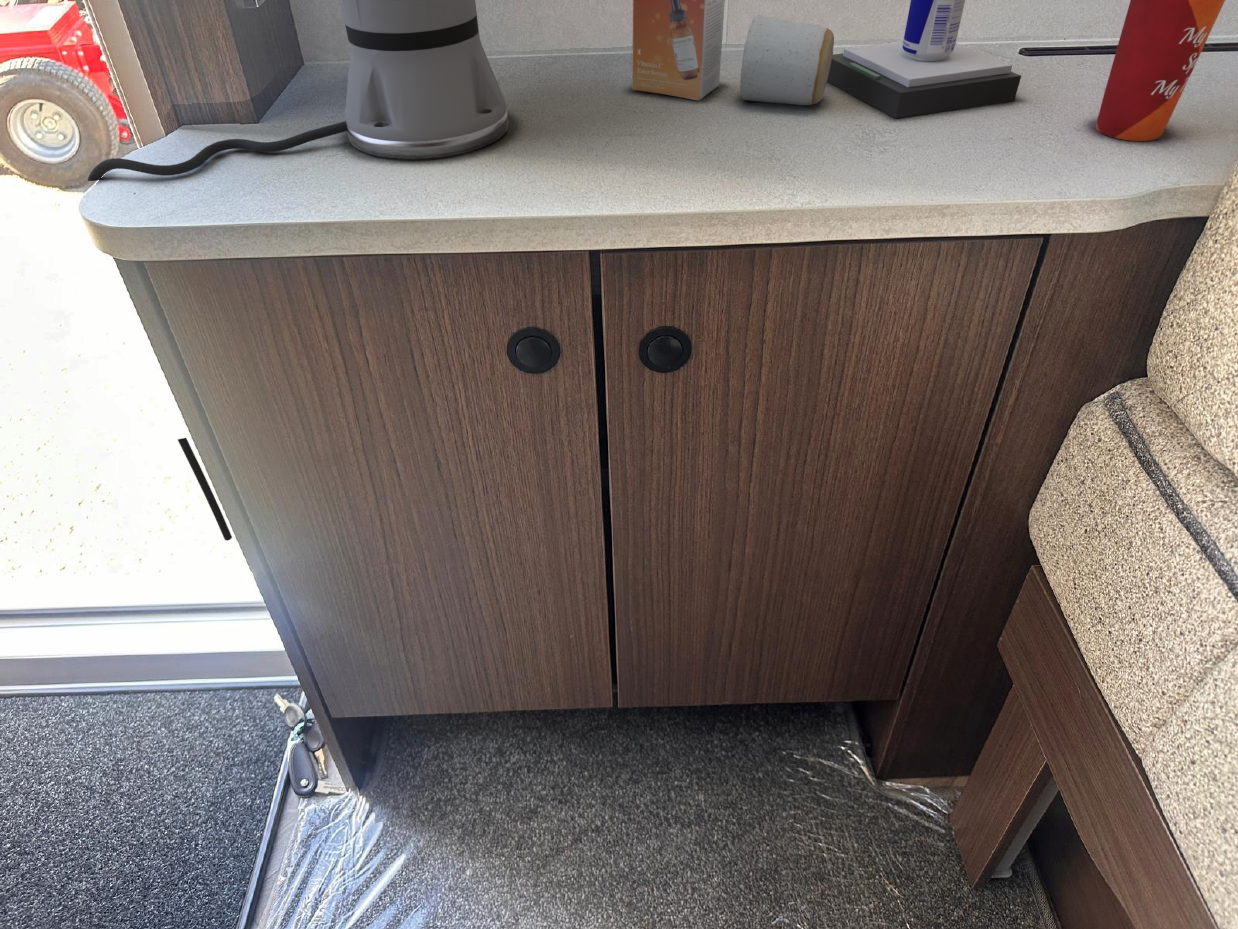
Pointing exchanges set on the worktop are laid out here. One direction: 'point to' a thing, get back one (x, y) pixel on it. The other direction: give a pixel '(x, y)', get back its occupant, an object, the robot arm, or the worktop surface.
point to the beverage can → (932, 28)
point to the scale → (922, 79)
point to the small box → (677, 46)
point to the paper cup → (1153, 65)
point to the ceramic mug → (785, 61)
